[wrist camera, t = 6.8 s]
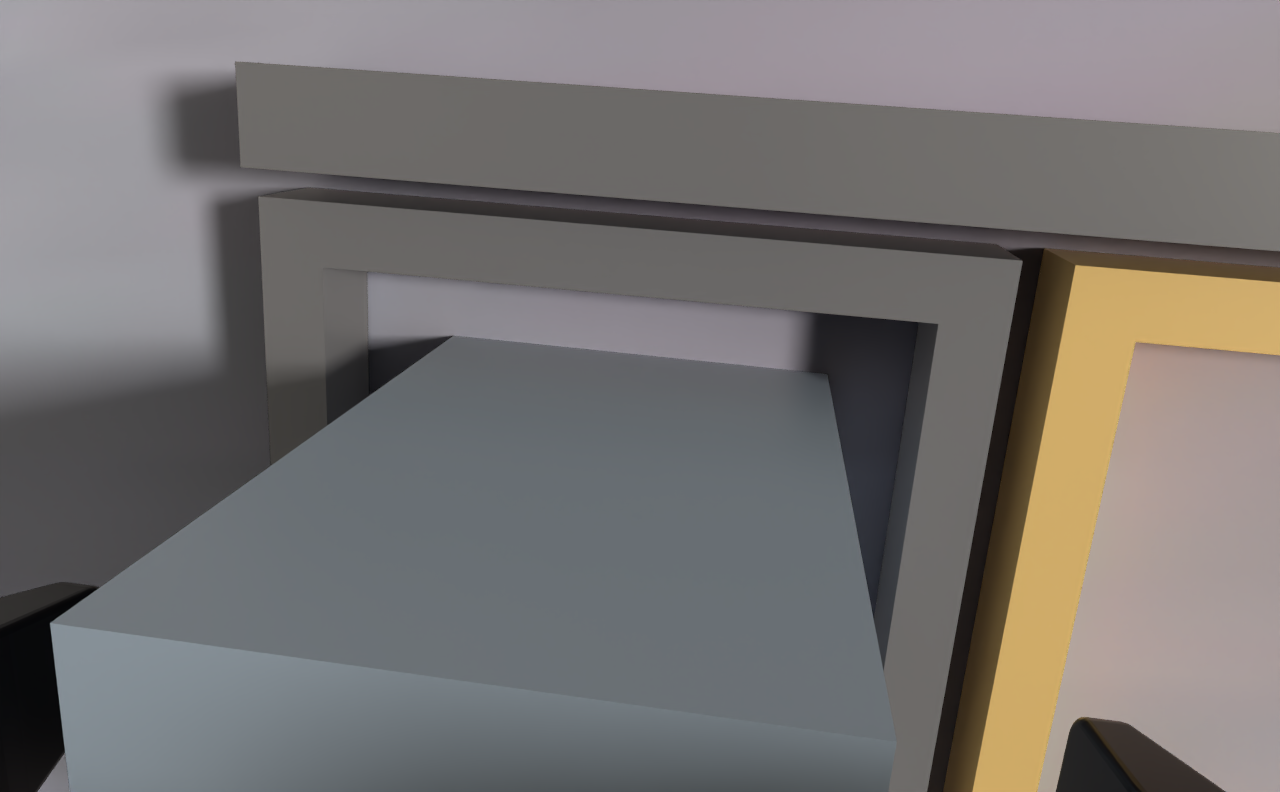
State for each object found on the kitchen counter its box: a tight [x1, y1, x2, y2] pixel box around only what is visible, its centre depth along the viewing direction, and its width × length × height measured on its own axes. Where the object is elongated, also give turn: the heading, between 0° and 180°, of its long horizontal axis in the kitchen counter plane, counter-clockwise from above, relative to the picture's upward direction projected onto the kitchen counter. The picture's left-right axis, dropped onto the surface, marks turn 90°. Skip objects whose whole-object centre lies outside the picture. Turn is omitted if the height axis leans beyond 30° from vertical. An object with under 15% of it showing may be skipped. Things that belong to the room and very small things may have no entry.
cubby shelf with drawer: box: [235, 62, 1280, 792], centre depth 11 cm, size 9×16×2 cm, turn 86°
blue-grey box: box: [50, 336, 897, 792], centre depth 9 cm, size 4×4×8 cm
